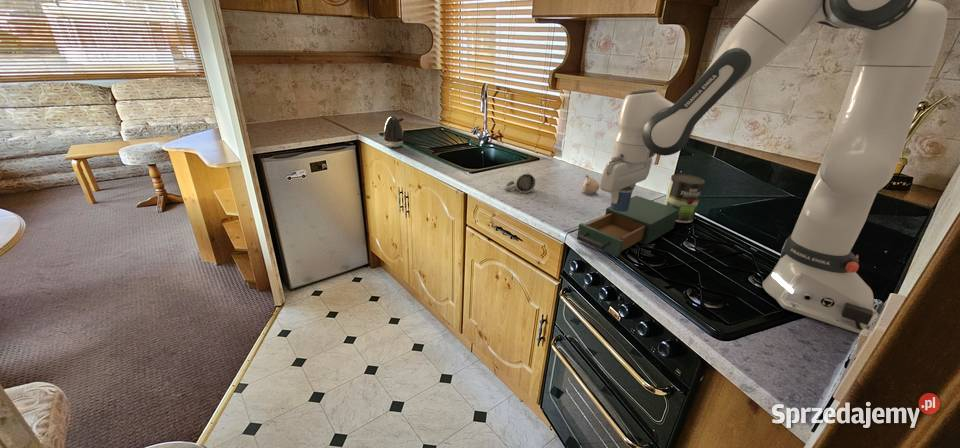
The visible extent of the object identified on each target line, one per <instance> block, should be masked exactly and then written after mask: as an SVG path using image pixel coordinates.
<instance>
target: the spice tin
mask: <svg viewBox="0 0 960 448" xmlns="http://www.w3.org/2000/svg"><path fill="white" fill-rule="evenodd" d="M633 191H634V189H633V188H632V187H630V186H628V187H625V188H623V189H620V192H619V197H620V201H619V203H616V204H615V203H612V202H611V201H610V205H609V207H610V208H611V209H613V210H615V211H620V212H625V211H628V209H629V204H630V199H631V198H632V195H633Z"/></svg>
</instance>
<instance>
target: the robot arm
mask: <svg viewBox="0 0 960 448" xmlns="http://www.w3.org/2000/svg"><path fill="white" fill-rule="evenodd" d="M947 20H948V10H947V8H946V7H945V6H944V5H943V4H942V3H939V2H937V1H934V0H758V1H756V3H755V4H754V5H752V7H751V8H750V9H749V10H748V11H747V12H746V13H745V14H744V15H743V16H742V17H741V19H740V20H738V22H737V23H735V26H734V27H733V28H732V29H731V30H730V31H729V33H728V34H727V36H726V37H725V39H724V40H723V42H722V44H721V45H720V47H719V49H718V50H717V52H716V53H715V56H714V57H713V59H712V61H711V62H710V64H709V66H708V67H707V68H706V70H705V71H704V72H703V74H702V75H700V77H699V78H698V79H697V80H696V81H695V82H694V84H692V85H691V87H689V89H688V90H687V91H686V92H685V93H684V94H682V96H681V97H680V98H679V99H678V100H677V101H676V102H672V101H670V100H668V99H666V98H665V97H664V96H663V95H661V94H660V92H659V91H658V90H655V89H641V90H640V89H639V90H635V91H631V92H630V93H628V94H627V95H626V96H625V97H624V99H623V101H622V104H621V109H620V113H619V118H618V121H617V122H618V123H617V126H618V127H617V128H618V131H617V134H616V136H615V139H614V145H613V149H612V150H613V151H612V157H610V160H609V161H608V162H607V163H606V164H605V165H604V168H603V171H602V175H601V179H600V182H599V189H600V190H601V191H603V192H606V193H609V194H610V195H611V199H610V203H611V202H612V203H615V204H616V203H619V201H620V197H619V192H620V189H623V188H625V187H628V186H630V187H632V188H633V190H634V189H635V187H636V185H637V184H638V183H640V182H643V181H645V180H646V179H647V178H648V176H649V174H650V172H651V171H650V170H651V167H652V164H653V163H652V162H653V157H654V158H655V155H658V156H665V157H666V156H671V155H674V154H678V153H679V152H680V151H682V150H683V149H684V147H685V146H686V145H687V143H688V141H689V140H690V137H691V135H692V133H693V132H694V129H695V127H696V125H697V124H698V122H699V121H700V120H701V119H702V118H703V116H705V114H707V113H708V112H709V110H710V109H712V107H714V106H715V105H716V104H717V103H718V102H719V101H720V99H722V97H723V96H724V95H726V94H727V93H728V92H729V91H730V90H732V89H733V88H734V87H736V86H737V85H738V84H740V83H741V82H742V81H744V80H746V79H747V78H749V77H751V76H753V75H754V74H755V73H757V72H758V71H760V70H761V69H762V68H764V67H765V66H767V65H768V64H769V63H771V62H772V61H773V60H774V59H775V58H777V57H778V56H779V55H780V54H781V53H782V52H783V51H784V50H785V49H786V48H787V47H789V45H791V43H793V41H794V40H796V39H797V38H798V36H800V35H801V34H802V33H803V32H804V31H805V30H807V29H808V28H810V27H811V26H813V25H814V24H821V25H824V26H827V27H831V28H834V29H843V30H845V29H857V30H858V31H859V32H860V34H861V41H862V43H861V49H860V51H859V54H858V56H857V60H856V62H855V64H854V67H853V71H852V74H851V77H850V80H849V83H848V85H847V89H846V91H845V94H844V97H843V101H842V103H841V106H840V109H839V112H838V115H837V118H836V121H835V124H834V126H833V130H832V132H831V135H830V138H829V141H828V144H827V147H826V150H825V153H824V156H823V158H822V162H821V163H820V166H819V168H818V170H817V173H816V176H815V178H814V180H813V182H812V185H811V188H810V189H809V192H808V195H807V197H806V199H805V202H804V204H803V206H802V208H801V211H800V214H799V216H798V219H797V220H796V223H795V225H794V228H793V230H792V232H791V234H789V236H787V238H786V239H785V242H784V244H783V246H782V248H781V251H780V257H779V259H778V261H777V263H776V264H775V266H774V268H773V269H772V270H771V272H770V273H769V275H767V276H766V278H765V279H764V280H763V281H762V288H763V289H764V291H765V292H766V293H767V294H768V295H769V296H770V297H772V298H773V299H774V300H775V301H776V302H777V303H778V304H779V306H780V307H782V309H784V310H786V311H790V312H792V313H796V314H799V315H802V316H805V317H808V318H811V319H814V320H817V321H820V322H823V323H826V324H829V325H832V326H835V327H838V328H841V329H844V330H847V331H850V332H853V333H856V334H859V335H861V334H860V332H861V331H862V330H863V329H864V328H870V326H871V325H872V323H873V322H874V321H875V319H876V318H877V317H878V315H879V316H880V314H879V312H878V311H877V310H876V309H875V308H874V301H875V297H874V292H873V290H872V288H871V287H870V286H869V285H868V284H867V283H866V282H865V281H864V280H863V278H862V277H860V275H859V274H858V273H857V272H858V271H859V268H860V264H859V263H860V259H859V254H856V255H855V254H854V253H853V252H852V250H853V247H854V245H855V243H856V241H857V239H858V238H859V235H860V234H861V231H862V229H863V228H864V225H865V223H866V221H867V218H868V216H869V213H870V211H871V208H872V206H873V203H874V201H875V198H876V196H877V194H878V192H879V191H880V190H881V189H883V188H885V186H887V185H888V184H889V183H890V181H891V180H892V178H893V176H894V174H895V172H896V169H897V166H898V164H899V161H900V158H901V155H902V154H903V153H902V152H903V150H904V147H905V144H906V142H907V139H908V136H909V133H910V130H911V127H912V124H913V120H914V117H915V114H916V111H917V110H918V107H919V104H920V102H921V100H922V97H923V94H924V92H925V89H926V87H927V85H928V82H929V80H930V78H931V75H932V72H933V70H934V68H935V65H936V63H937V60H938V57H939V55H940V51H941V48H942V45H943V41H944V38H945V32H946V27H947Z"/></svg>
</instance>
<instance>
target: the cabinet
mask: <svg viewBox="0 0 960 448" xmlns="http://www.w3.org/2000/svg"><path fill="white" fill-rule="evenodd" d="M664 204H665V203H660V202H657V201H655V200H651V199H648V198H645V197H642V196H640V195H634V196H631V199H630V204H629V209H628V211H625V212H620V211H615V210H613V209H611V208H610V206H609V207H606V209H605V213H604V216H605V215H607V214H609V213H613V214H616V215H619V216H621V217H624V218H627V219H629V220H632V221H635V222H638V223H640V224H643V225H646V226H647V230H646V234H645V238H644V239H642V240H640V241H639V242H638V243H639V244H642V245H645V246H647V245H648V244H650V243H652V242H654V241H655V240H656V239H658V238H661V237H662V236H663V235H665V234H666V233H669V232H670V231H672V230H673V229H675V226H676V225H675V224H676V222H675V221H676V217H677V214H678V210H679V209H676V208H673V207H670V206H667V205H664Z"/></svg>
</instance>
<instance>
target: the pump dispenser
mask: <svg viewBox="0 0 960 448" xmlns="http://www.w3.org/2000/svg"><path fill="white" fill-rule="evenodd" d="M404 120H405V119H404V117H402V118H398V117H397V116H394V115H393V116H389V117H388V118H387V120H386V122H385V125H384V130H383V141H384V143H385V145H386V146H387V147H389V148H394V149H395V148H399V147H401V146H402V145H403V143H404V141H405V136H404V130H403V126H402V124H401V122H403V121H404Z"/></svg>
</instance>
